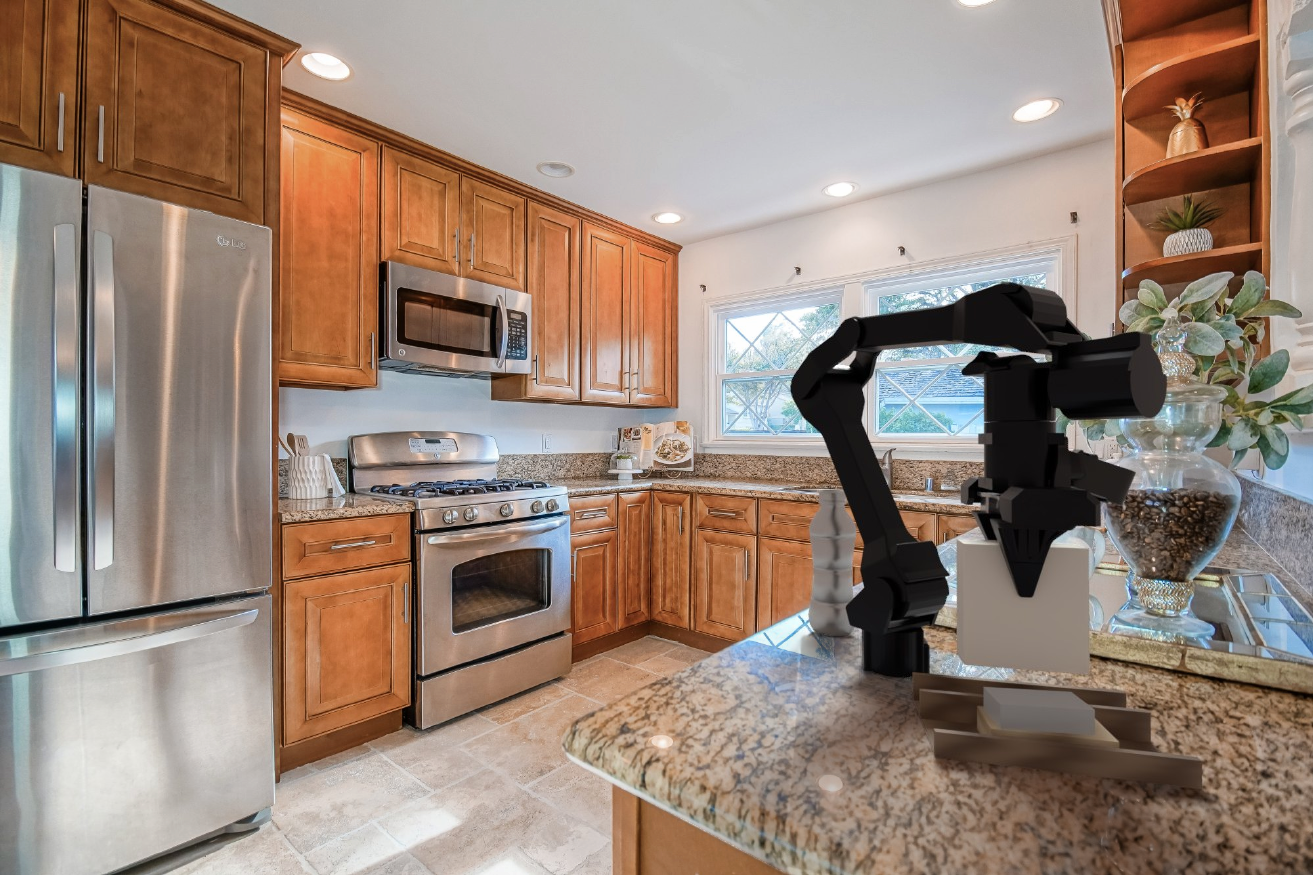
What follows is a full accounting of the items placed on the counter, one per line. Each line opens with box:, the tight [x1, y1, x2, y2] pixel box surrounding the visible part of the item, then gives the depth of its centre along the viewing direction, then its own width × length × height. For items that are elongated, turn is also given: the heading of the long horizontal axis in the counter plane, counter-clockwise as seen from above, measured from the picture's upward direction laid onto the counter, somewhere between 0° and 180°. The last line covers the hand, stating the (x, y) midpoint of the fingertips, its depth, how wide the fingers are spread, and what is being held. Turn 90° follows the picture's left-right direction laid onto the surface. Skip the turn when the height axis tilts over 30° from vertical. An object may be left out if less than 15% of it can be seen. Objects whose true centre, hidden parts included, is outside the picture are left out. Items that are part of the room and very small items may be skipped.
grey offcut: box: [984, 687, 1095, 735], centre depth 51 cm, size 7×4×2 cm, turn 82°
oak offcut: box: [977, 706, 1119, 748], centre depth 51 cm, size 9×4×2 cm, turn 76°
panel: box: [956, 538, 1091, 676], centre depth 56 cm, size 10×3×11 cm, turn 76°
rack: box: [909, 672, 1203, 790], centre depth 54 cm, size 18×14×4 cm
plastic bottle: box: [807, 489, 857, 637], centre depth 86 cm, size 6×7×20 cm
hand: (1019, 592), depth 56 cm, fingers closed on panel, 3 cm apart
